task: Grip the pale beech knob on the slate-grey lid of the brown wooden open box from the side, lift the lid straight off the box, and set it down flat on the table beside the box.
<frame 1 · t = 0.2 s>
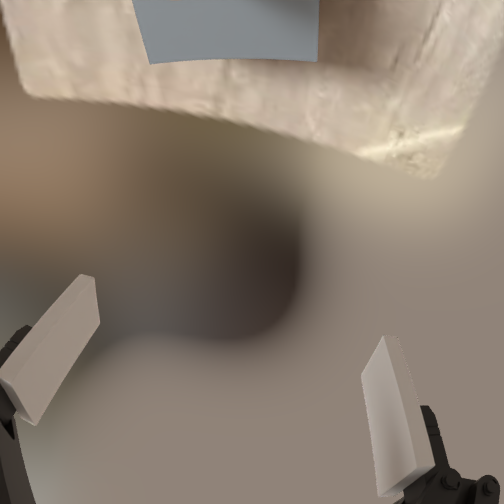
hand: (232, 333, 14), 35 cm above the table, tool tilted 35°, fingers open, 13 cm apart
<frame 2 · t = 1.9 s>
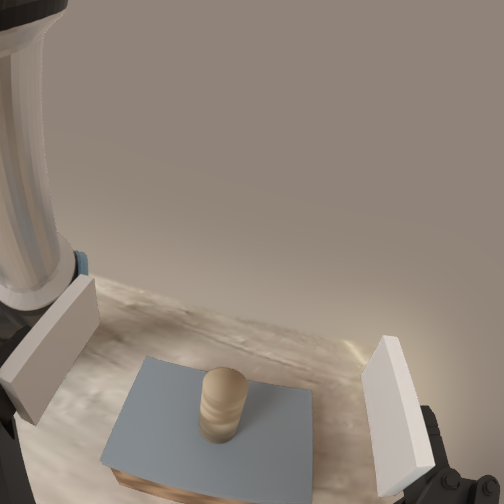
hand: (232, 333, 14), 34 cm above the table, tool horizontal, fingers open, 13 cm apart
lid: (216, 433, 34), point 8 cm above the table, touching brown wooden open box
brown wooden open box: (211, 458, 38), on the table
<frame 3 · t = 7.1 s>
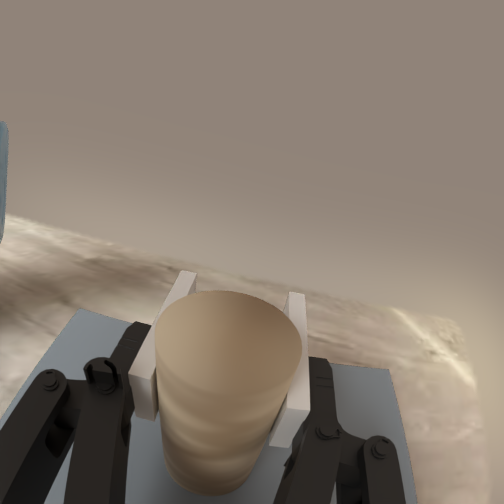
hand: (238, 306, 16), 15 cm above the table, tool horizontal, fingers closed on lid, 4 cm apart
lid: (206, 468, 14), point 8 cm above the table, touching gripper, brown wooden open box
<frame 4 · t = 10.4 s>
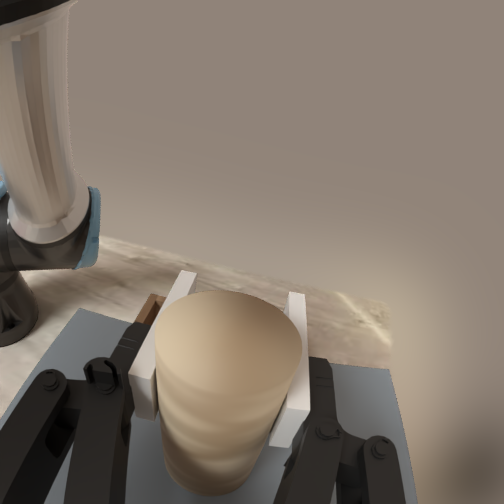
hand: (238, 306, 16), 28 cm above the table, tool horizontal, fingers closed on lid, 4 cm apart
lid: (206, 468, 14), point 21 cm above the table, touching gripper
brown wooden open box: (207, 386, 43), on the table
when the fingers open (9 cm above the table, at t = 14.1 s): lid drops 3 cm, on the table.
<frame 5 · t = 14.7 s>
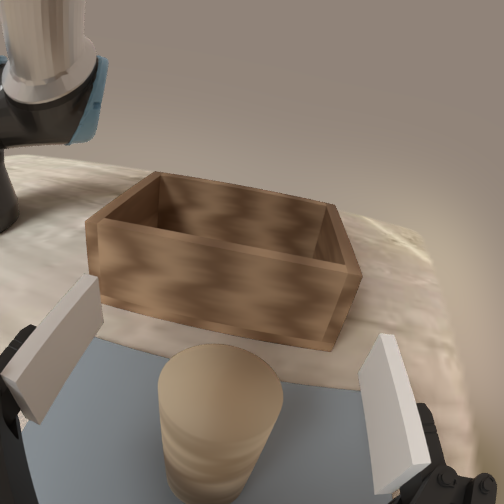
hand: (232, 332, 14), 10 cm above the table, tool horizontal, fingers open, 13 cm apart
lid: (204, 483, 15), on the table
brown wooden open box: (222, 279, 34), on the table
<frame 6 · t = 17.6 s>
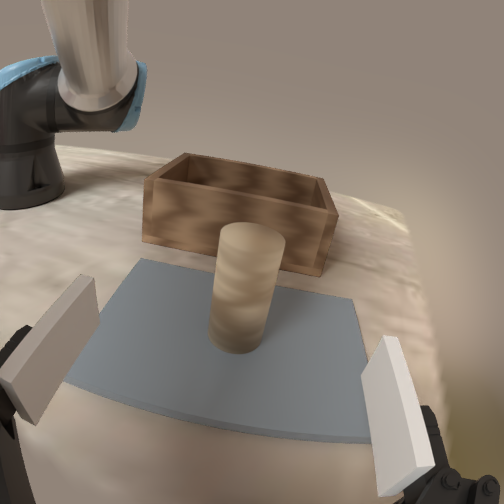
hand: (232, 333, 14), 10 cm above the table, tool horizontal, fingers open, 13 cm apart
lid: (232, 347, 27), on the table
brown wooden open box: (238, 231, 46), on the table
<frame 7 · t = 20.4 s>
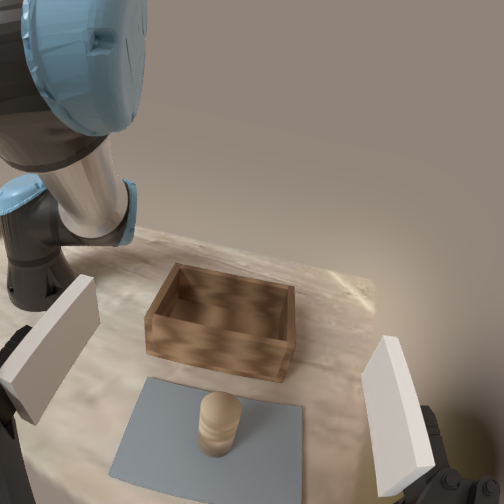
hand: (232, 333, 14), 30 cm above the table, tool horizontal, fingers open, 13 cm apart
lid: (213, 448, 37), on the table
brown wooden open box: (221, 336, 55), on the table
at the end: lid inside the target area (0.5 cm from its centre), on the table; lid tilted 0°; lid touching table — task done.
